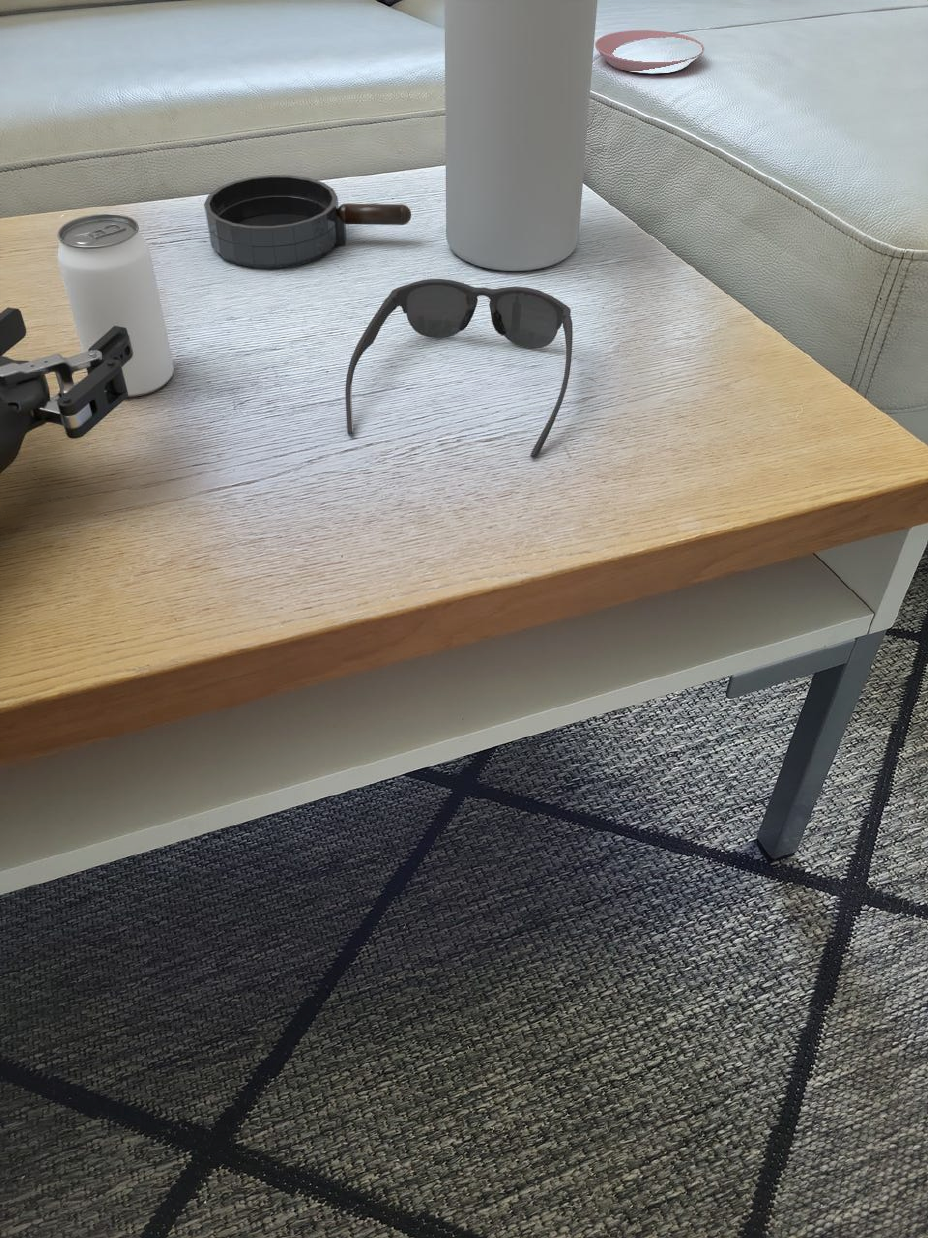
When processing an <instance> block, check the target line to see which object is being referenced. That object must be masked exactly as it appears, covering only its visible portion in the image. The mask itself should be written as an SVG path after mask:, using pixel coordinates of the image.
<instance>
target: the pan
mask: <svg viewBox="0 0 928 1238" xmlns="http://www.w3.org/2000/svg"><path fill="white" fill-rule="evenodd" d="M203 208H204V214H205V220H206V225H207V231H208V237H209V241H210V245H211V248H212V249H213V250H215V252H217V253H218V254H219V256H221V257H222V258H223V259H225V260H227V261H229V262H231V263H233V264H236V265H239V266H242V267H248V268H257V269H284V268H291V267H296V266H300V265H304V264H308V263H311V262H313V261H316V260H318V259H320V258H322V257H323V256H325V255H327V254H328V253H329V252H330V251H331V250H332V249H333V248H334V245H335V244H336V243H337V242H338V240H339V237H338V225H337V209H338V208H339V198H338V195H337V193H336V191H335V190H334V188H332V187H331V186H329V185H327V184H326V183H325V182H323V181H320V180H317V179H314V178H310V177H307V176H298V175H292V174H267V175H259V176H251V177H246V178H242V179H237V180H234V181H231V182H229V183H226V184H224V185H222V186H219V187H217V188H216V189H215V190H214V191H212V192H211V193H210V194H208V195H207V197H206V198H205V201H204V203H203Z"/></svg>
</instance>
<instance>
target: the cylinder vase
mask: <svg viewBox="0 0 928 1238" xmlns="http://www.w3.org/2000/svg"><path fill="white" fill-rule="evenodd" d="M443 6H444V127H445V128H444V130H445V133H444V134H445V137H444V141H445V143H444V144H445V239H446V242H447V244H448V245H447V246H448V247H449V248H450V250H451V251H452V252H453V253H454V254H455V255H456V256H457V257H459V258H460V259H461V260H463V261H465V262H467V263H470V264H472V265H475V266H478V267H481V268H485V269H490V270H495V271H505V272H524V271H535V270H539V269H543V268H548V267H551V266H553V265H554V266H555V265H556V264H558V263H560V262H562V261H563V260H565V259H567V258H568V257H569V256H570V255H572V253H573V252H574V251H575V249H576V248H577V246H578V244H579V236H580V223H581V213H582V212H581V211H582V200H583V185H584V175H585V174H584V173H585V164H586V163H585V162H586V151H587V150H586V149H587V138H588V137H587V135H588V125H589V124H588V123H589V110H590V100H591V98H590V97H591V87H592V73H593V63H594V62H593V60H594V50H595V49H594V48H595V35H596V26H597V25H596V23H597V11H598V0H444V5H443Z"/></svg>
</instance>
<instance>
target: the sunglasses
mask: <svg viewBox="0 0 928 1238" xmlns="http://www.w3.org/2000/svg"><path fill="white" fill-rule="evenodd" d="M481 296H482V297H487V298H488V299H489V311H490V316H491V323H492V327H493V328H494V330H495V331H496V333H497V334H498V335H500V336H504V337H505V338H506V339H507V340H508V341H509V342H510V343H512V344H514V345H515V346H517V347H521V348H523V349H531V350H532V349H534V350H536V349H543V348H544V347H547V346H549V345H551V344H552V342H553V341H554V340H555V338H556V336H557V334H558V331H559V330H560V329H561V327H562V328H563V333H564V339H565V367H564V374H563V379H562V384H561V387H560V391H559V395H558V397H557V400H556V403H555V406H554V408H553V410H552V411H551V414H550V416H549V418H548V419H547V420H548V421H547V422H546V425H545V426H544V428H543V430H542V432H541V434H540V435H539V437H538V439H537V441H536V442H535V444H534V446H533V448H532V450H531V452H530V458H536V457H537V456H538V455H539V454H540V452H541V451H542V449H543V447H544V444H545V442H546V440H547V439H548V437H549V434H550V433H551V430H552V428H553V426H554V423H555V421H556V418H557V416H558V413H559V412H560V409H561V406H562V404H563V400H564V398H565V394H566V391H567V388H568V383H569V378H570V375H571V367H572V356H573V355H572V354H573V340H574V339H573V337H574V336H573V335H574V331H573V320H572V315H571V314H572V313H571V308H570V307H569V306H568V305H566V304H565V303H563V302H562V301H561V300H559V299H557V298H556V297H554V296H552V295H551V294H549V293H546V292H544V291H541V290H539V289H536V288H531V287H526V286H525V287H524V286H507V287H500V288H499V287H498V288H495V289H494V288H489V287H476V286H475V287H474V286H471V285H469V284H466V283H463V282H461V281H456V280H453V279H446V278H445V279H444V278H429V279H422V280H417V281H414V282H411V283H408V284H405V285H401V286H399V287H396V288H394V289H392V290H391V292H390V293H389V294H388V296H387V297H386V298H385V299H384V300H383V302H382V304H381V305H380V307H379V308H378V310H377V311H376V312H375V314H374V316H373V317H372V319H371V320H370V322H369V324H368V326H367V327H366V328H365V330H364V332H363V333H362V335H361V337H360V339H359V341H358V342H357V344H356V346H355V349H354V351H353V354H352V356H351V358H350V361H349V365H348V368H347V372H346V380H345V391H344V392H345V413H346V431H347V435H349V436H352V435H353V433H354V432H353V430H354V419H353V418H354V417H353V404H352V399H353V397H352V395H353V394H352V393H353V391H352V390H353V379H354V374H355V370H356V367H357V365H358V364H359V363H358V362H359V360H360V359H361V357H362V355H363V354H364V353H365V352H366V351H367V349H368V348H369V347H370V346H372V345H373V344H374V342H375V340H376V338H377V336H378V334H379V333H380V330H381V328H382V327H383V325H384V323H385V322H386V320H387V319H388V317H389V316H390V315H391V314H392V313H393V312H394V311H395V310H396V309H397V308H398V307H401V309H402V312H403V314H406V319H407V321H408V324H409V325H410V326H411V329H413V331H415V332H416V333H417V334H419V335H420V336H423V337H425V338H431V339H446V338H447V339H448V338H450V337H453V336H456V335H457V334H459V333H460V332H463V331H464V330H465V329H467V327H468V325H469V324H470V322H471V320H472V318H473V316H474V314H475V311H476V308H477V306H478V301H479V297H481Z"/></svg>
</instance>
